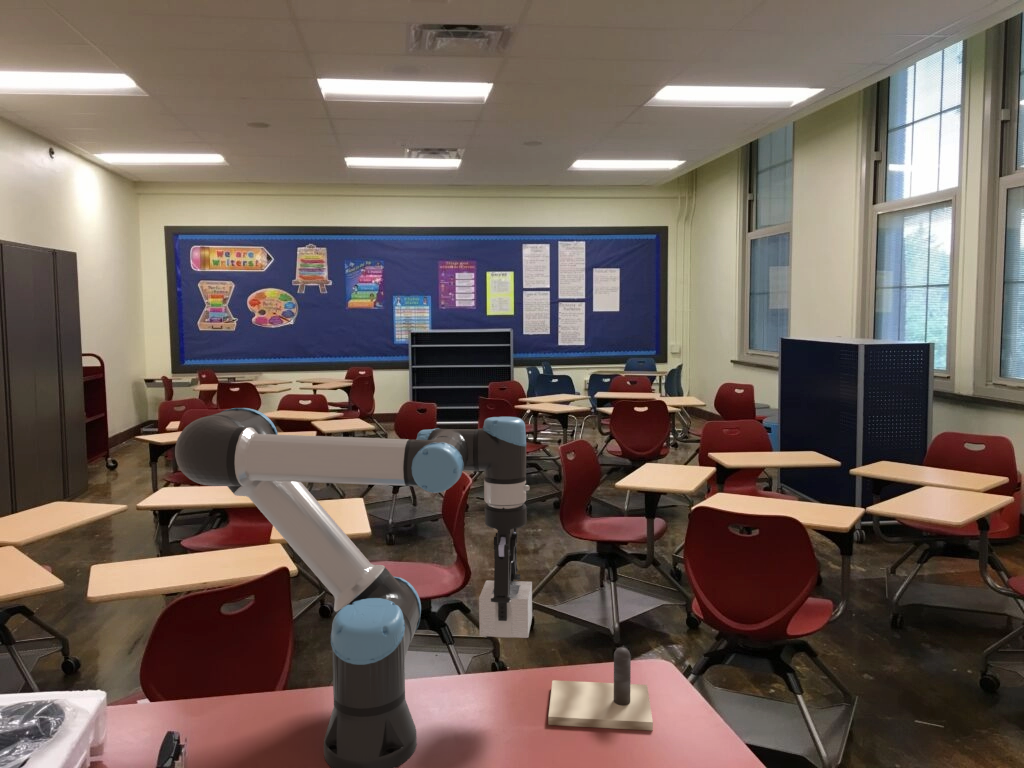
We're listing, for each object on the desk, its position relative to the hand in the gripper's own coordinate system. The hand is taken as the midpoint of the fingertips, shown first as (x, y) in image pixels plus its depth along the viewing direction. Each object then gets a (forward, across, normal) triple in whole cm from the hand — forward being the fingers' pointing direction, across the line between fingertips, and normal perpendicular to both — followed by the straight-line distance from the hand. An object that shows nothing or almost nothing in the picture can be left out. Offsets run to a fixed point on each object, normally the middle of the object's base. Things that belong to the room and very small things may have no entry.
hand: (506, 625), depth 131 cm
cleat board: (+15, +1, -17) cm, 23 cm away
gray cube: (0, 0, 0) cm, 0 cm away
